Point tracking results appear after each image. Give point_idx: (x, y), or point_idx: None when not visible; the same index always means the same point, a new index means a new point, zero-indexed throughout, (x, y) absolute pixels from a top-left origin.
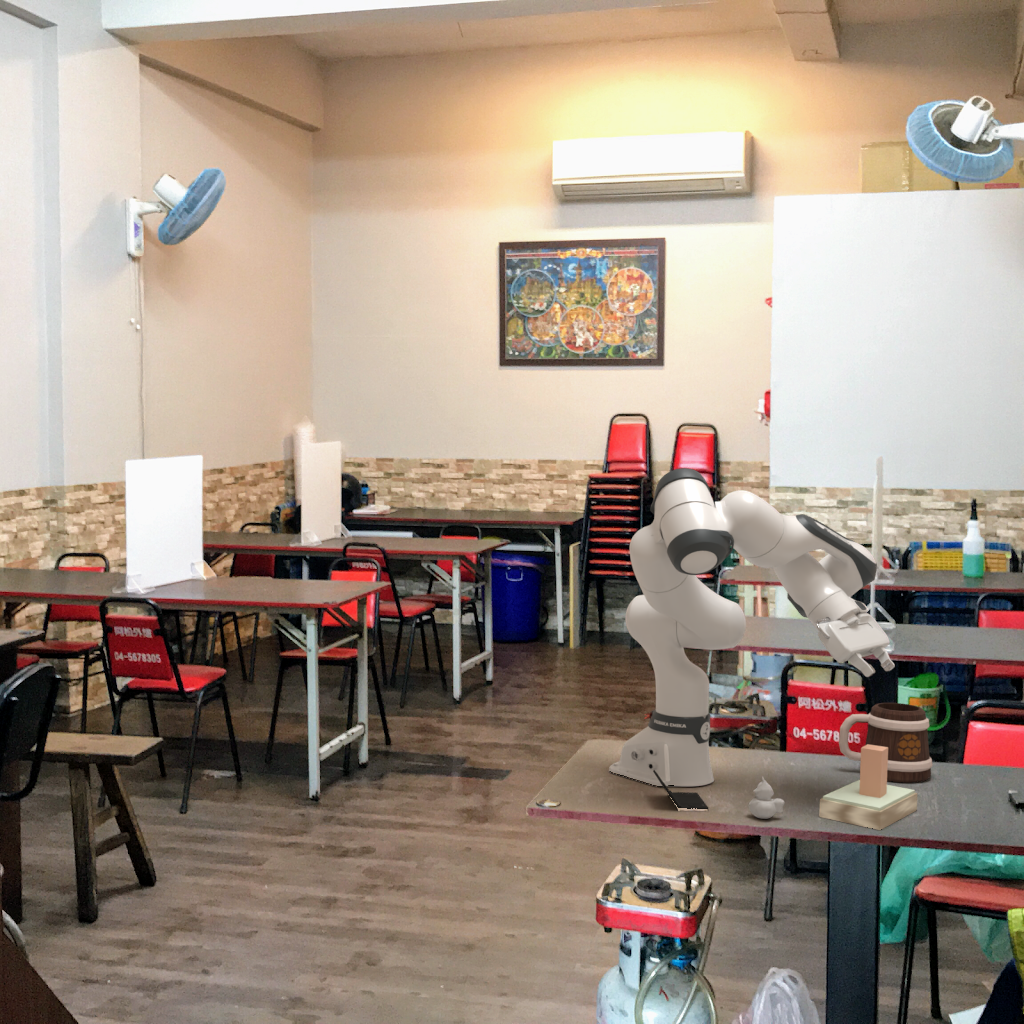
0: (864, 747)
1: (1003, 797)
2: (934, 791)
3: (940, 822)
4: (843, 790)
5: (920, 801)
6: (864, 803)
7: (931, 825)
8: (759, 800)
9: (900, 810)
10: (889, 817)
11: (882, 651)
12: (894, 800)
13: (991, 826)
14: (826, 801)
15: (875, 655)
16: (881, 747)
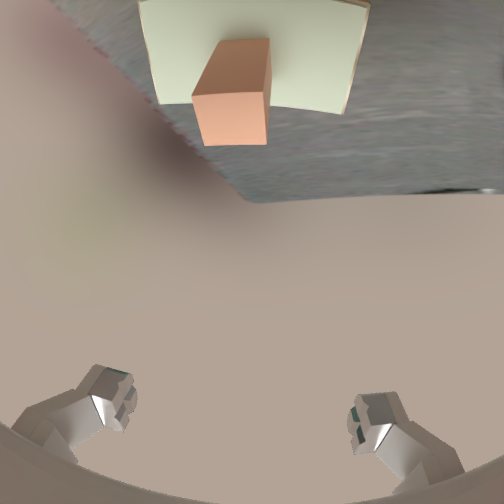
0: (206, 100)
1: (461, 184)
2: (472, 115)
3: (288, 134)
4: (223, 5)
5: (403, 96)
6: (161, 76)
7: None
8: None
9: None
10: None
11: (395, 491)
12: None
13: (313, 181)
14: (139, 10)
15: (421, 475)
16: (249, 132)
